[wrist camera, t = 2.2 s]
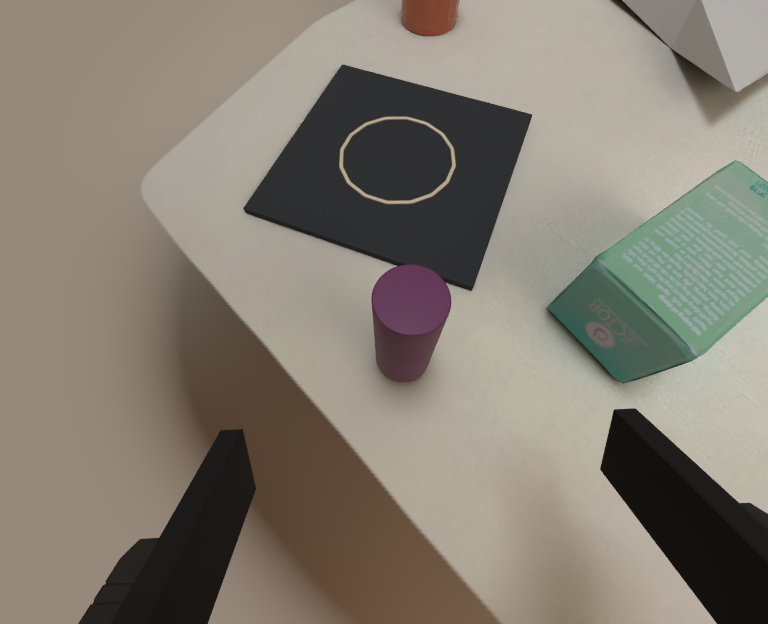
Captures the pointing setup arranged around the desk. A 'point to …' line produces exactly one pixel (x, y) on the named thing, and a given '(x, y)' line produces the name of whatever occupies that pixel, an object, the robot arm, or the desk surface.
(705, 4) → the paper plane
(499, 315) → the desk surface
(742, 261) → the box
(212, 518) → the robot arm
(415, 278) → the cylinder
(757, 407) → the desk surface
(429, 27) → the pen pot
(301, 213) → the felt pad
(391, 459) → the desk surface
